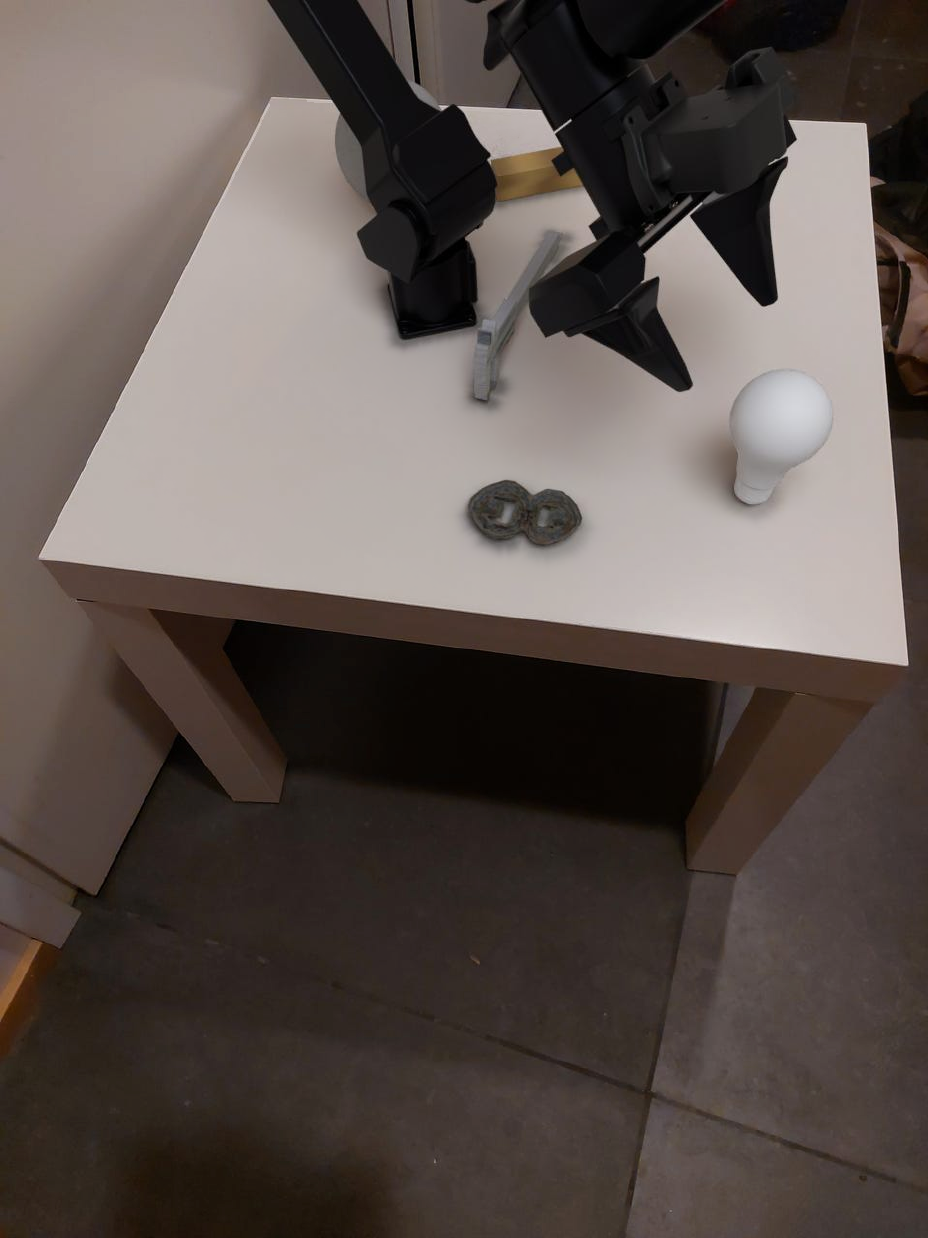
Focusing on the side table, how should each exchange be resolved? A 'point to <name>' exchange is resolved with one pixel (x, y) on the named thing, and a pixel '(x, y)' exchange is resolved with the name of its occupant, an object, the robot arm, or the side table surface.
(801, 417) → the lightbulb
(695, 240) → the side table surface
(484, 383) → the caliper
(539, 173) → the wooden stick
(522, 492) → the corroded twin loop
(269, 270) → the side table surface
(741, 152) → the robot arm
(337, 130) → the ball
